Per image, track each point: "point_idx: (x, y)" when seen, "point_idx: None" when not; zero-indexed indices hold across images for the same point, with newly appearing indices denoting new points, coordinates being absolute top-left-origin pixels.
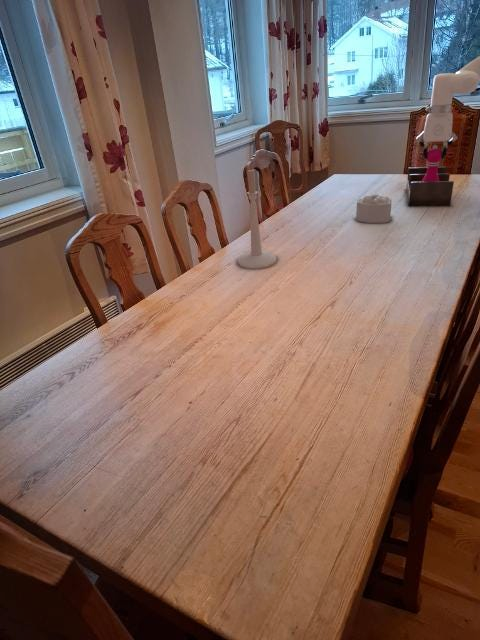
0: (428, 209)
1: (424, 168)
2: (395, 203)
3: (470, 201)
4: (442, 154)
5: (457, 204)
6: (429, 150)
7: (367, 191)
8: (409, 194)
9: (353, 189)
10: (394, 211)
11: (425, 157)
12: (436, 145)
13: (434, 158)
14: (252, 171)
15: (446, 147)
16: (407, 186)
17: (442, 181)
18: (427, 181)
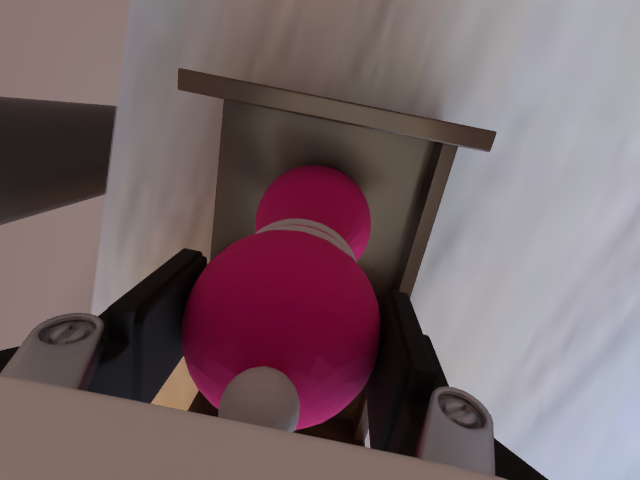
0: (357, 49)
1: None
2: (485, 200)
3: (128, 159)
4: (185, 274)
5: (195, 118)
6: (345, 388)
7: (535, 419)
8: (449, 164)
9: (583, 461)
10: (550, 42)
11: (399, 296)
12: (235, 417)
13: (301, 232)
14: None
15: (79, 326)
16: None
17: (259, 95)
18: (347, 188)
